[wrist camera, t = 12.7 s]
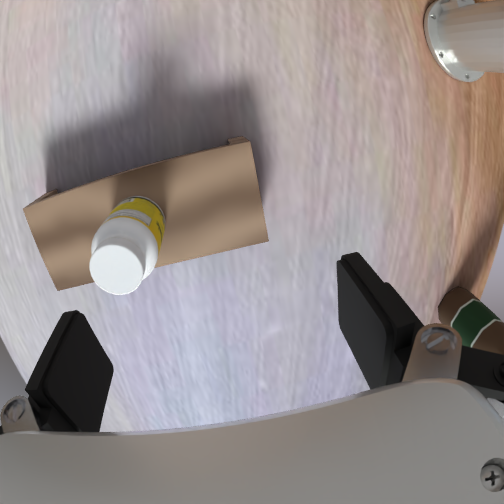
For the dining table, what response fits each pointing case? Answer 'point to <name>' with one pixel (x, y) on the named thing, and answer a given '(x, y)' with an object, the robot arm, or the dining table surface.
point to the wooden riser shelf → (167, 198)
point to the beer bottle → (472, 321)
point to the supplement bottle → (127, 245)
